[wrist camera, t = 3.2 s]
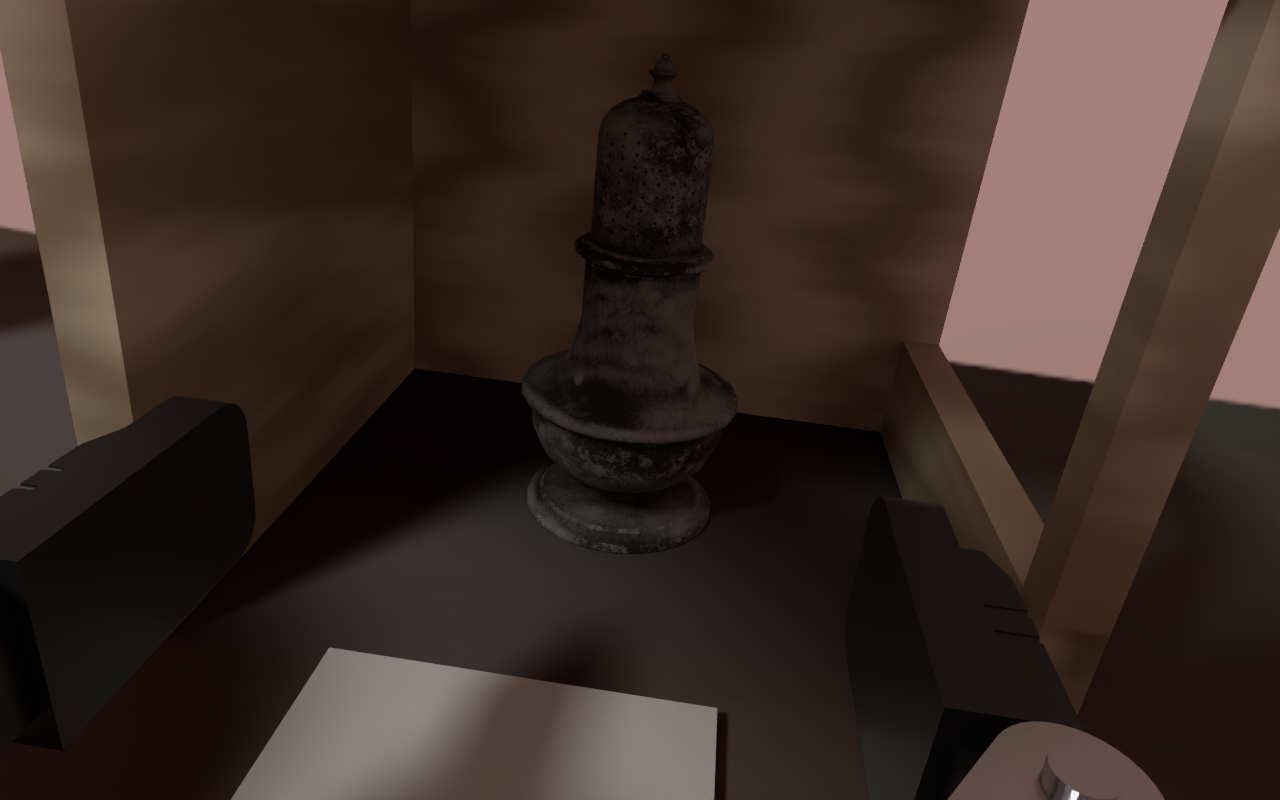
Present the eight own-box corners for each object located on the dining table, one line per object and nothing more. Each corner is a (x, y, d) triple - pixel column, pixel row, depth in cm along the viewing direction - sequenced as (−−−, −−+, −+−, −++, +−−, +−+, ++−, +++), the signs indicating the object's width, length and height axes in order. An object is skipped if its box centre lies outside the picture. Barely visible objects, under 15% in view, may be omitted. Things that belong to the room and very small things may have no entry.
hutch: (113, 628, 18) (-77, -347, 11) (394, 352, 33) (384, -146, 26) (1051, 776, 17) (1460, -206, 10) (908, 422, 32) (1037, -78, 25)
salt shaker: (686, 447, 28) (741, 54, 23) (750, 553, 23) (838, 77, 18) (505, 453, 27) (521, 33, 22) (530, 568, 22) (560, 52, 17)
